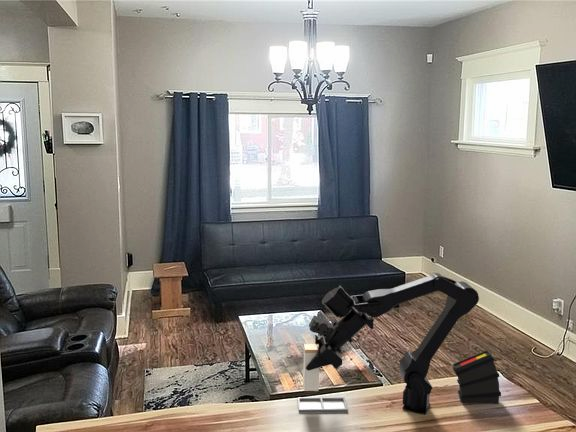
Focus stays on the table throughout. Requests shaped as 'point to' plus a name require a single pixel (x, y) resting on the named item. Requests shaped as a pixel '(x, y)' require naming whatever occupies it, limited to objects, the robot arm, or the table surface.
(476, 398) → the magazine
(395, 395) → the table surface
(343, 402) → the organiser
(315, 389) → the block
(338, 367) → the robot arm
